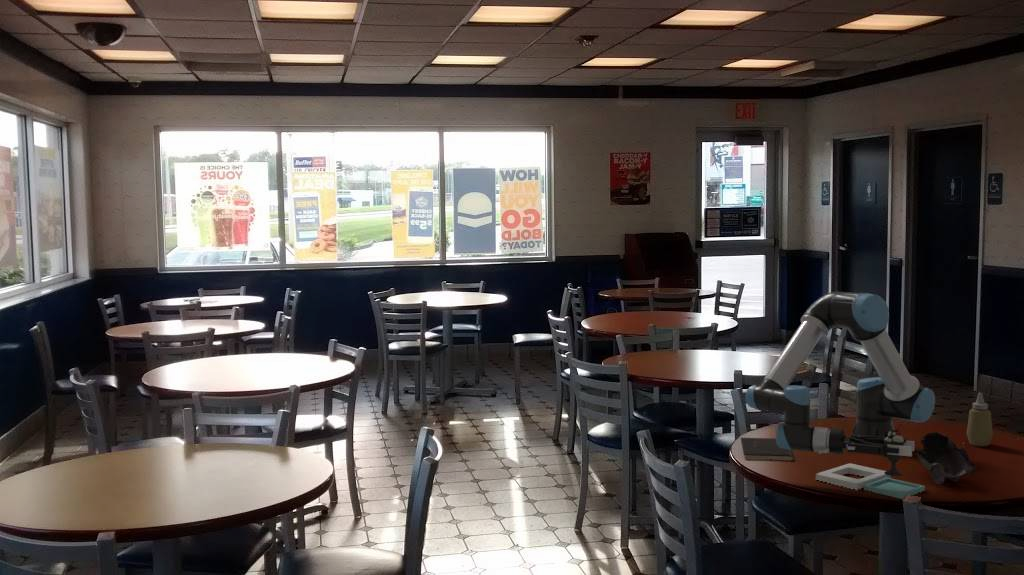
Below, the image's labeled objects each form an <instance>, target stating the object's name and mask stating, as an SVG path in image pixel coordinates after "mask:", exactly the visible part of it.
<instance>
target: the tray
mask: <svg viewBox="0 0 1024 575" xmlns="http://www.w3.org/2000/svg"><path fill="white" fill-rule="evenodd" d="M925 487H926V486H925V485H922V484H917V483H914V482H913V483H912V482H908V481H905V480H899V479H895V478H892V477H891V478H887V477H886V478H883V479H881V480H878V481H875V482H872V483H869V484H866V485H864V488H863V490H864V491H867V490H868V491H867V492H871V491H872V492H871V493H874V494H879V495H882V496H883V495H884V496H889V497H892V498H896V499H900V500H904V499H905V498H904V497H905V496H908V495H912V496H914V495H917V494H920V493H923V492H925V491H924V490H925V489H926V488H925ZM922 491H923V492H922ZM919 492H920V493H919ZM903 498H904V499H903Z"/></svg>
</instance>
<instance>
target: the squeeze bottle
mask: <svg viewBox="0 0 1024 575" xmlns="http://www.w3.org/2000/svg"><path fill="white" fill-rule="evenodd" d="M988 408H989V404H988V403H986V402H985V400H984V395H983V392H978V393H977V397H976V400H975V402H973V403H972V408H971V409H970V410H969V413H968V422H967V427H966V435H967V439H968V442H969V444H970V445H971V446H976V447H988V446H989V445H990V444H991V441H992V438H993V436H994V435H993V424H992V422H993V421H992V413H991V410H989V409H988Z"/></svg>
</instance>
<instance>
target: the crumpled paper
mask: <svg viewBox="0 0 1024 575" xmlns="http://www.w3.org/2000/svg"><path fill="white" fill-rule="evenodd" d="M949 436H950V433H949V434H948V435H943V434H941V433H940V432H939V431H934V432H931V433H926V434H925V435H924V436H923V437H922V438H921V439H920V441H919V443H920V444H921V445H922V446H923V448H922V450H921V448H919V449H918V448H916V455H917V458H918V459H919V461H920V462H921V464H922V465H923V466H924V468H926V469H927V470H928V471H929V476H930V477H931V479H932V481H933V482H934V483H935V485H942V484H943V483H944V482H945V480H947V481H951V482H954V483H958V482H959V480H960V477H961V476H962V475H964V474H969V475H972V474H974V472H975V469H976V468H975V467H976V465H975V463H974V462H972V461H971V460H970V457H969V454H968V452H967V451H966V450H965V449H964V448H959V447H958V446H957V444H956V443H955V442H953V440H949ZM972 457H974V456H973V455H972ZM955 481H956V482H955Z"/></svg>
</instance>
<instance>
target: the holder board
mask: <svg viewBox="0 0 1024 575" xmlns="http://www.w3.org/2000/svg"><path fill="white" fill-rule="evenodd" d="M885 472H886V470H883V469H877V468H873V467H868V466H865V465H860V464H859V465H858V464H855V463H850V462H849V463H846V464H844V465H840V466H839V465H838V466H837V467H833V468H831V469H830V468H829V469H828V470H823V471H820V472H817V473H815V481H816V480H819V481H818V482H820V481H823V482H822V483H824V482H827V483H826V484H829V483H831V484H830V485H833V484H834V486H837V485H838V487H841V486H843V487H842V488H845V487H846V488H845V489H849V488H850V489H849V490H853V489H855V490H854V491H859V490H858V489H860V490H862V489H861V488H863V489H864V485H866V484H869V483H872V482H875V481H878V480H881V479H883V478H886V477H887V478H891V479H892V476H889V475H886V474H885ZM847 474H849V475H853V474H854V475H853V476H857V475H859V477H862V476H864V477H862V478H854V477H850V476H845V475H847Z"/></svg>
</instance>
